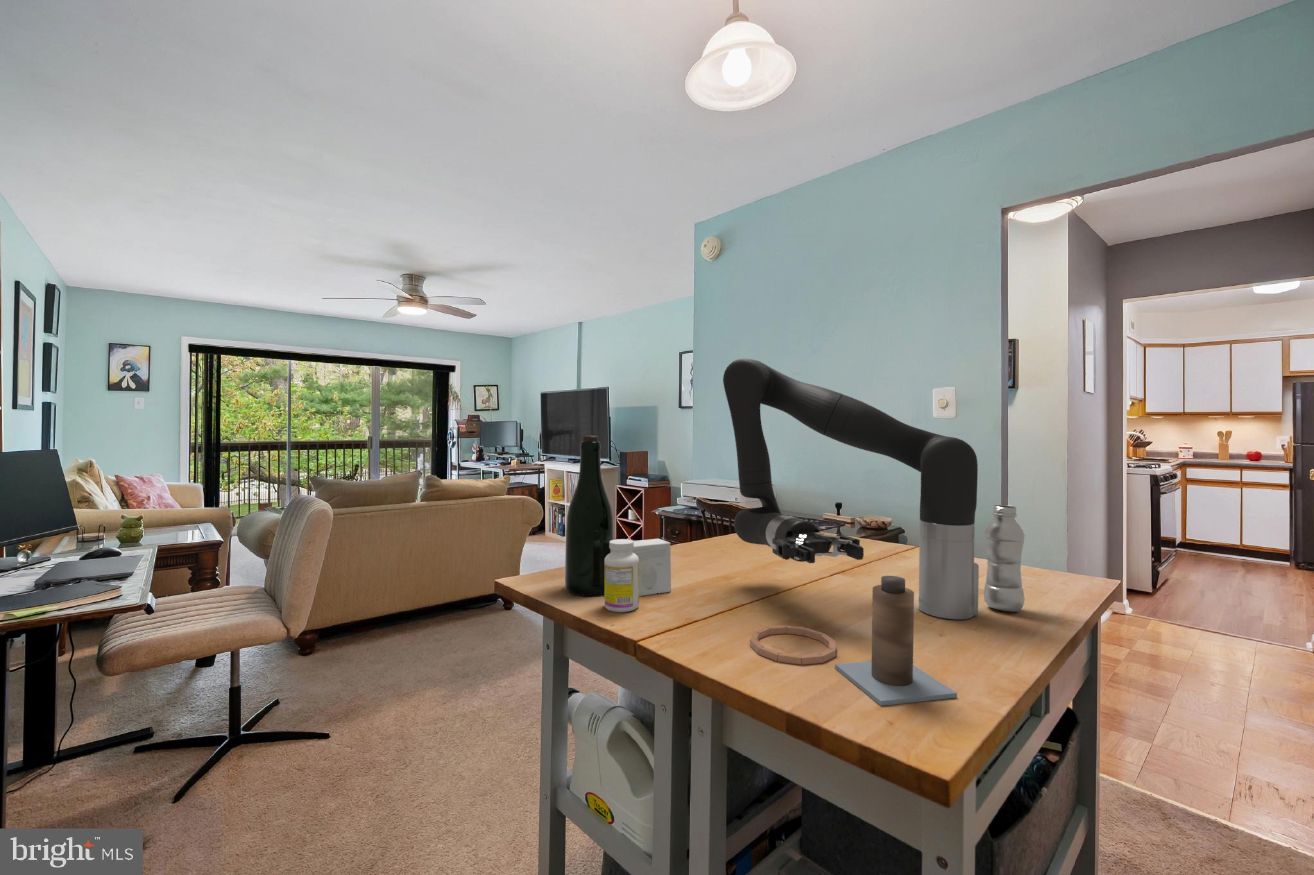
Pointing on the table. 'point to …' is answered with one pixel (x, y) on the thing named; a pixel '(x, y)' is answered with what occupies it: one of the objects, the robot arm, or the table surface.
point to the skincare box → (653, 566)
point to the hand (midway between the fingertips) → (837, 555)
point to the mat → (888, 694)
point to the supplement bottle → (621, 577)
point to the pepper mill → (892, 632)
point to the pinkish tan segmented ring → (793, 658)
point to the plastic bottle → (1004, 560)
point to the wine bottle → (588, 525)
